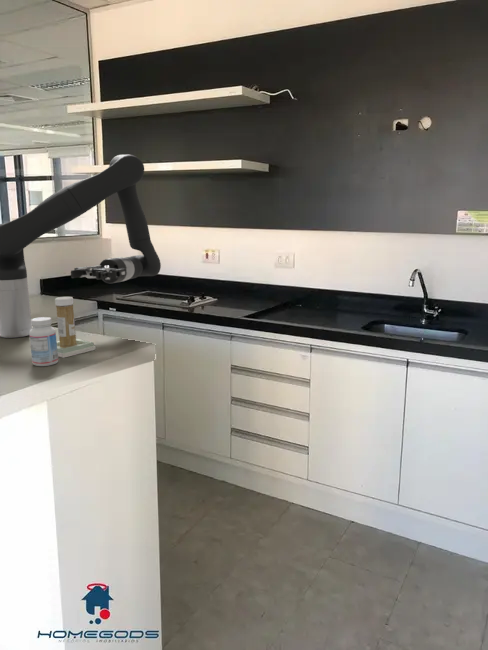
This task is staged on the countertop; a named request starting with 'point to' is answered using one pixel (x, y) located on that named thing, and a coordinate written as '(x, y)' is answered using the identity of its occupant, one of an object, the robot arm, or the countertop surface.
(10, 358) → the countertop surface
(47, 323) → the pill bottle
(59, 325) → the sprinkles bottle
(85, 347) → the socket plate
